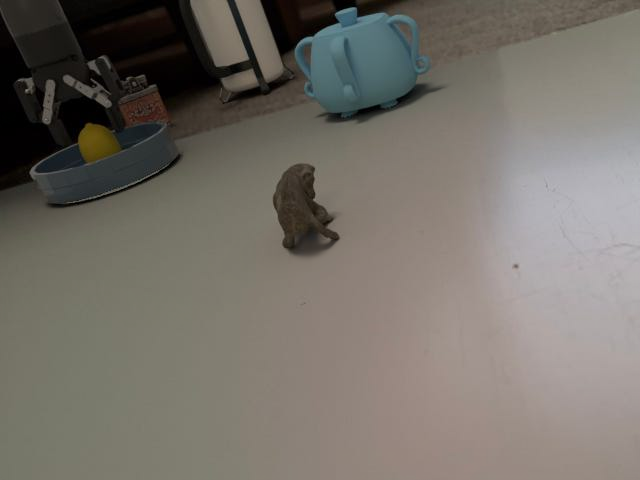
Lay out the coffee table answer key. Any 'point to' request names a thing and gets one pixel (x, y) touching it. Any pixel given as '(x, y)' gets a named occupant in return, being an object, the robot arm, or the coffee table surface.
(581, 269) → the coffee table surface
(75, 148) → the bowl
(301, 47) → the decorative pot
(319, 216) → the brown furry figure
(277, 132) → the coffee table surface
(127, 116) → the lighter
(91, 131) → the lemon
